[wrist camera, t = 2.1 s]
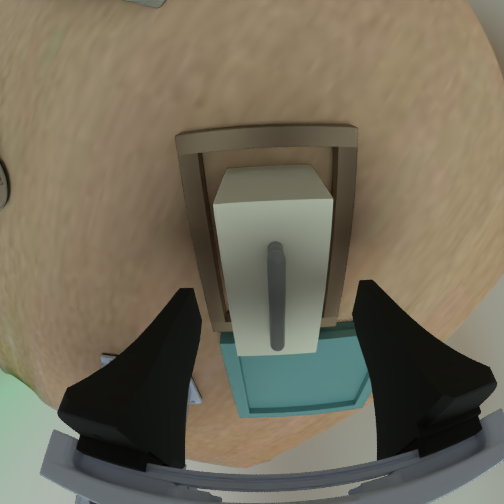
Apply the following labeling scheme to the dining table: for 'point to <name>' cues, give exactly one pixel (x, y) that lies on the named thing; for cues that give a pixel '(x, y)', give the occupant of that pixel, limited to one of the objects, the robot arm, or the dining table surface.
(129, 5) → the dining table surface
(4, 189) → the beer can
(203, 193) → the brown flat rectangular frame
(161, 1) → the supplement box
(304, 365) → the tray
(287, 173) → the white block with handle
